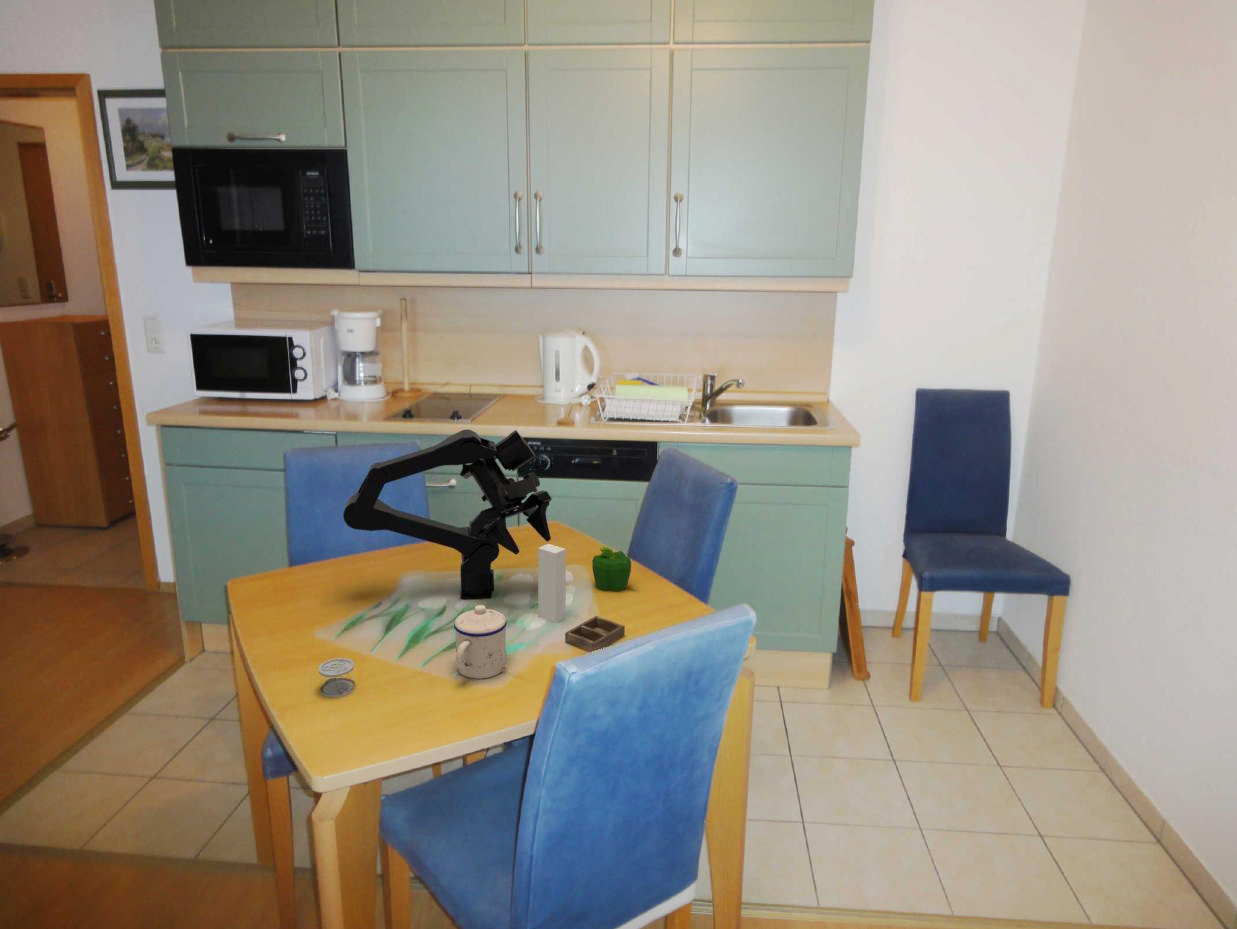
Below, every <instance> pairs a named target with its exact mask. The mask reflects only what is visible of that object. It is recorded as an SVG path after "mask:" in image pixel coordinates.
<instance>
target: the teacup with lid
mask: <svg viewBox="0 0 1237 929" xmlns="http://www.w3.org/2000/svg"><path fill="white" fill-rule="evenodd" d="M507 623H508V621H507V619H506V616H505V615H504V614H503V613H501V612H499V611H498V610H495V609H490V608H489V609H488V608H486V606H485V605H484V604H478V605H476V606H475V607H474V609H471V610H468V611H465V612H463V613H461V614H459V615H458V616H457V617H456V618H455V621H454V622H453V627H454V628H453V629H454V630H455V650H456V651H455V652H456V654H455V662H456V668H457V671H458V672H459V674H460V675H462V676H465V678H470V679H481V680H482V679H488V678H491V677H492V678H493V677H494V676H497V675H499V674H500V673H502V672H503V671H504V670H505V669H506V667H505V666H506V663H507V648H506V647H507V642H506V641H507V639H506V638H507V637H506V634H507V632H506V627H507V625H508V624H507Z"/></svg>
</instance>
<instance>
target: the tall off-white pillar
mask: <svg viewBox="0 0 1237 929" xmlns="http://www.w3.org/2000/svg"><path fill="white" fill-rule="evenodd" d="M566 550H567V549H566V548H563V547H561V546H556V545H553V544H550V543H547V544H544V545H542V546H540V547H537V574H538V575H537V585H538V586H537V588H538V589H537V590H538V593H537V596H538V598H537V600H538V601H537V604H538V605H537V607H538V610H537V611H538V612H537V613H538V616H537V617H539V618H541V619H543V620H546V621H549V622H552V623H555V624H557V623H559V622H560V621H562V620H564V619H565V618H566V603H567V602H566V593H567V591H566V586H567V585H566V583H567V582H566V579H567V578H566V577H567V576H566V573H567V572H566V569H567V566H566V565H567V562H566V561H567V560H566V557H567V556H566V555H567V551H566Z"/></svg>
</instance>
